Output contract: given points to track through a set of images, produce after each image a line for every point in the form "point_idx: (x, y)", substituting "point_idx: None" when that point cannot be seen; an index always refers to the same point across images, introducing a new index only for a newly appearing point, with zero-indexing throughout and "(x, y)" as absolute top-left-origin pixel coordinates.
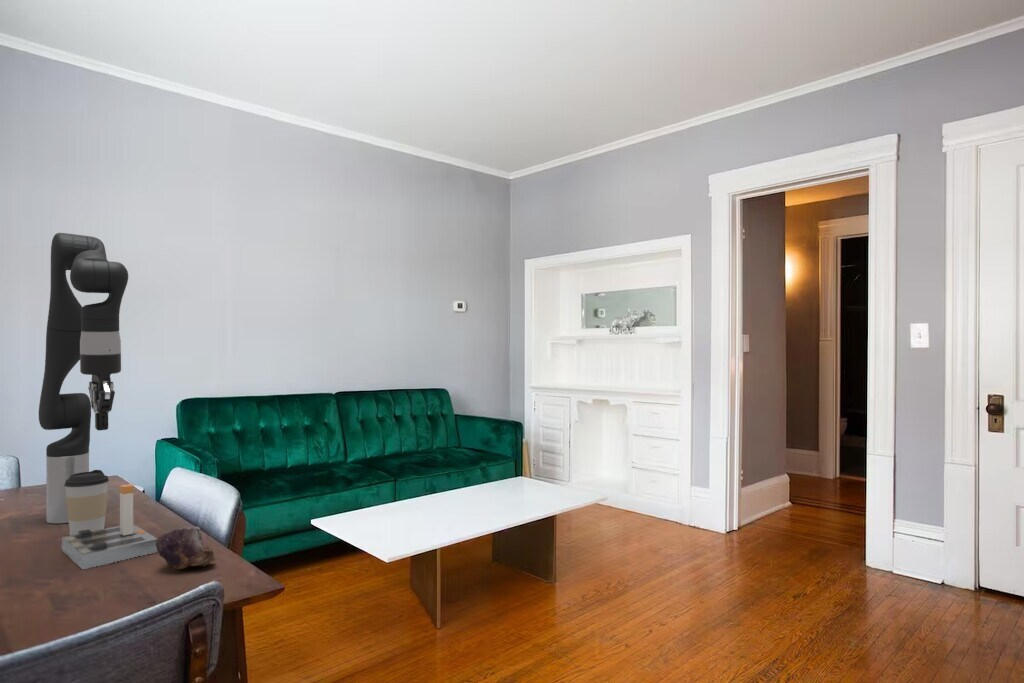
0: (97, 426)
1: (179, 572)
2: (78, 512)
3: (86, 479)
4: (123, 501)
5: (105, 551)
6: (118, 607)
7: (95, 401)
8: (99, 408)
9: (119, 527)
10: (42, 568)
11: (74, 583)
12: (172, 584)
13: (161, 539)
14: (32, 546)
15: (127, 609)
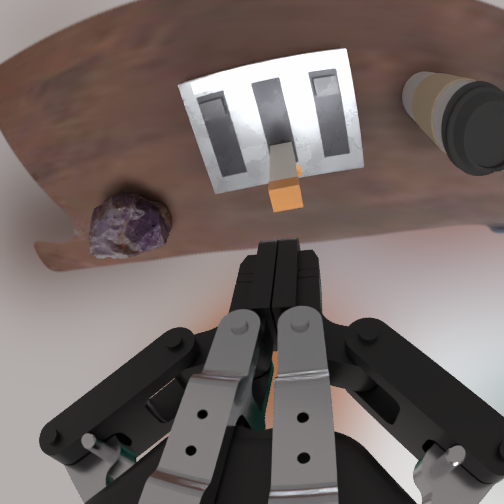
0: (257, 254)
1: None
2: (424, 89)
3: (458, 126)
4: (269, 174)
5: (189, 117)
6: (30, 147)
7: (189, 390)
8: (143, 352)
9: (346, 144)
10: (233, 21)
11: (122, 80)
12: (75, 194)
13: (103, 208)
14: (402, 12)
15: (24, 156)
